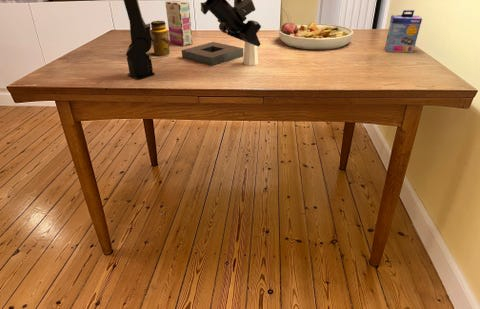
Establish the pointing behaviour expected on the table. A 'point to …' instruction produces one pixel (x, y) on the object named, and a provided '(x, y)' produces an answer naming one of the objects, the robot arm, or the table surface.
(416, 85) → the table surface
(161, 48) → the condiment
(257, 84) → the table surface
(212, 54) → the holder block
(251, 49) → the pepper shaker
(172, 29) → the candy bar box
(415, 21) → the ink cartridge box
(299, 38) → the bowl
